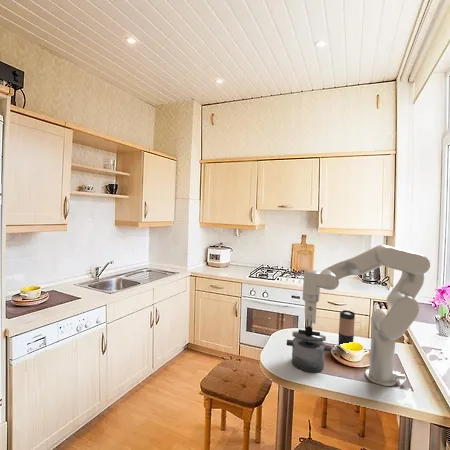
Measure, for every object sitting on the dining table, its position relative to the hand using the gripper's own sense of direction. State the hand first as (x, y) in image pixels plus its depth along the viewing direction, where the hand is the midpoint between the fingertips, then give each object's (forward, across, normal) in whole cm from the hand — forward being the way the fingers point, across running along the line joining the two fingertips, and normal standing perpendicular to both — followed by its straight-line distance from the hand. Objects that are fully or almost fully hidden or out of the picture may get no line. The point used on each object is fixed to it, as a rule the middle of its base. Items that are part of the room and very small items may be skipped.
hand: (308, 334), depth 141 cm
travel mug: (+16, +28, -20) cm, 38 cm away
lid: (+3, +4, 0) cm, 5 cm away
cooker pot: (+16, +4, 0) cm, 17 cm away
